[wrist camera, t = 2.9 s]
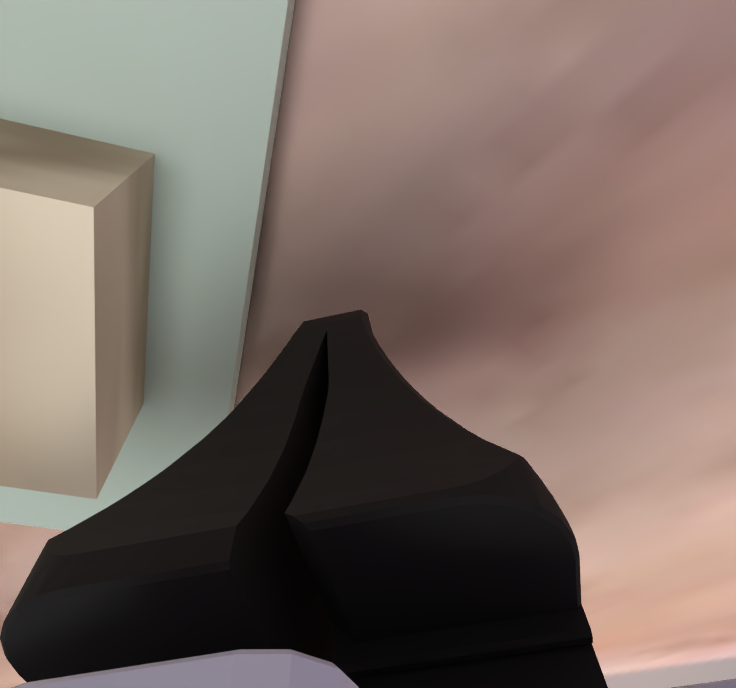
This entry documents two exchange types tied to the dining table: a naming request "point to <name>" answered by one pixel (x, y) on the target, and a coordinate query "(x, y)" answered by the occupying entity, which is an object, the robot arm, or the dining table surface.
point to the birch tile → (70, 305)
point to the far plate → (163, 189)
